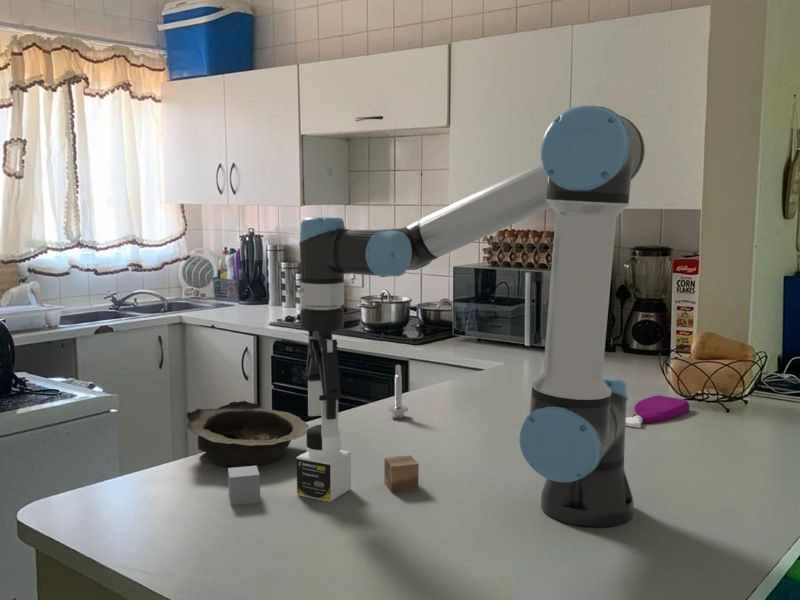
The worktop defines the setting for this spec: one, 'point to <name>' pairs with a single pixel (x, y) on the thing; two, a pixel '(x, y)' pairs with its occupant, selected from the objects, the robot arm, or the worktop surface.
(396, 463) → the walnut block
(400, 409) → the screw
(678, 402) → the spray bottle
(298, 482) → the medicine bottle
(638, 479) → the worktop surface
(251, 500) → the slate block
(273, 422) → the stone bowl
